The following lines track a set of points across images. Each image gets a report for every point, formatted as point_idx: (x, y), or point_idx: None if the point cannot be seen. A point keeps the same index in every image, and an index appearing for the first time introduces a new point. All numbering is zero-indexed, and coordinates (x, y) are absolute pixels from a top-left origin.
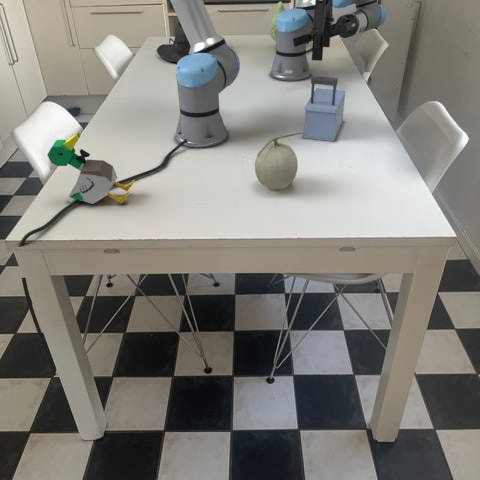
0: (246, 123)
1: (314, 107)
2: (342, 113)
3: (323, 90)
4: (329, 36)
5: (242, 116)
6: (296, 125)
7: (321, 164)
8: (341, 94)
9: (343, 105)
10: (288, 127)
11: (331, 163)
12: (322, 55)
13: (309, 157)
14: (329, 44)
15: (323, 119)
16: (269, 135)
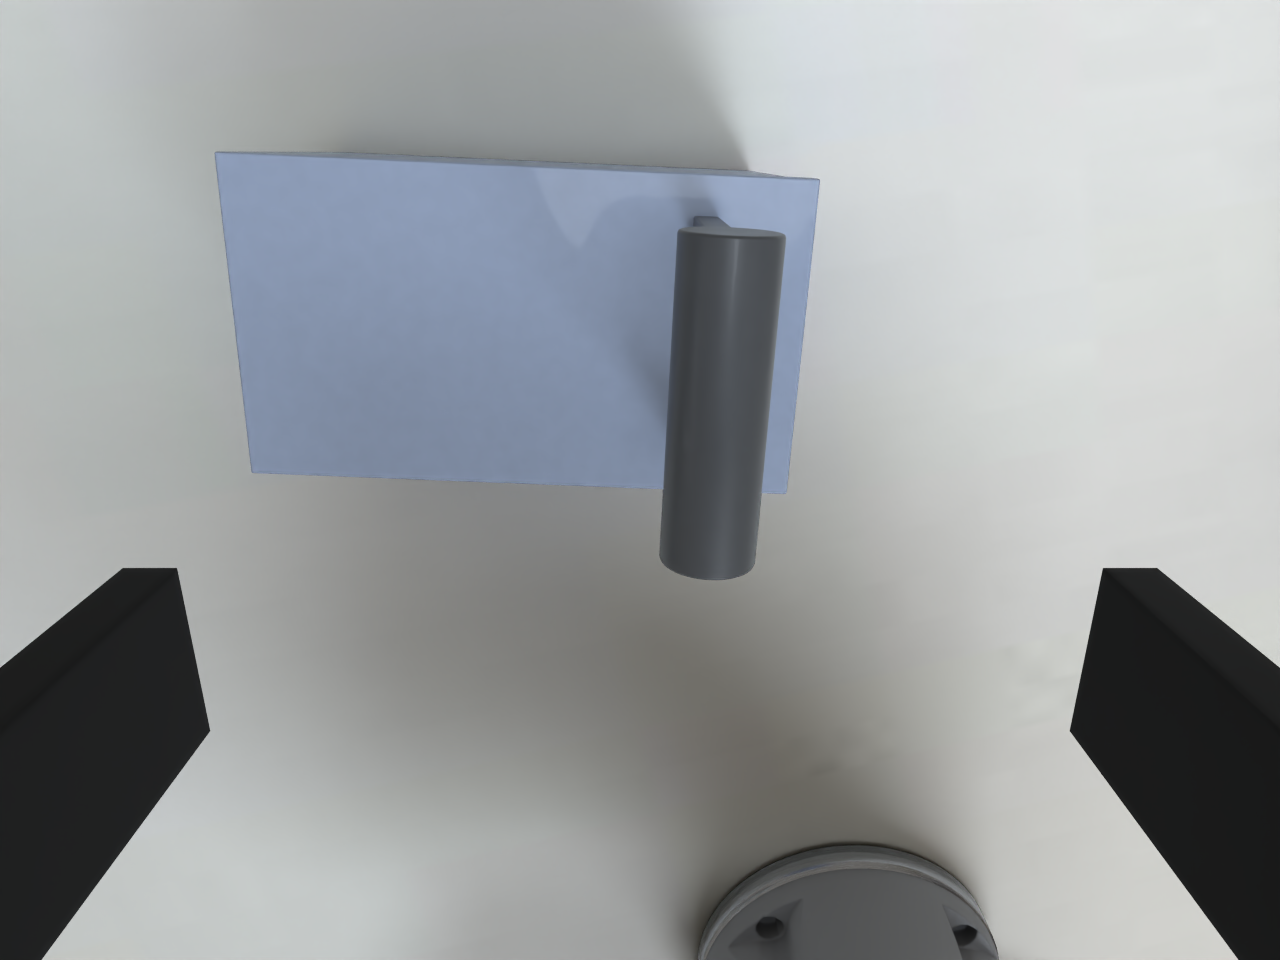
0: (576, 796)
1: (795, 404)
2: (357, 154)
3: (297, 393)
4: (46, 698)
5: (469, 842)
6: (517, 493)
7: (1158, 204)
8: (358, 182)
9: (318, 153)
10: (569, 539)
11: (1138, 132)
12: (1154, 609)
13: (1050, 307)
14: (122, 590)
15: None
16: (734, 627)
